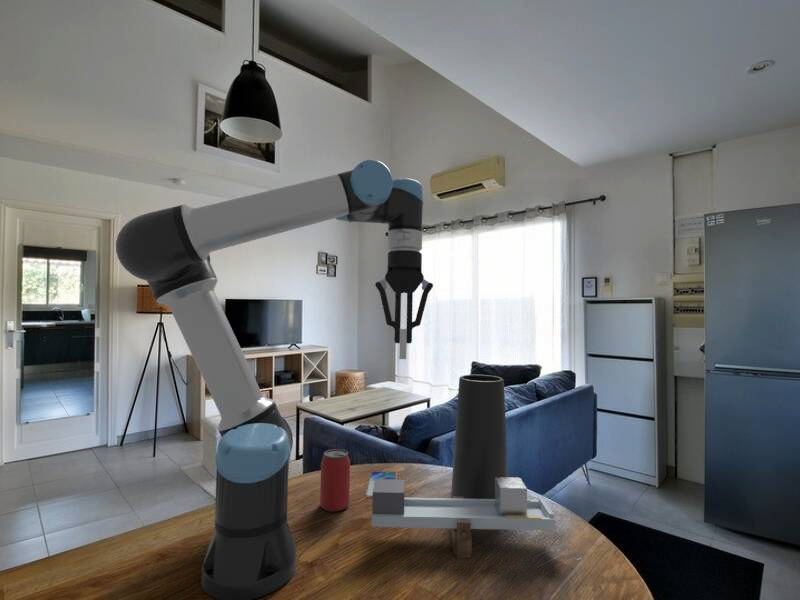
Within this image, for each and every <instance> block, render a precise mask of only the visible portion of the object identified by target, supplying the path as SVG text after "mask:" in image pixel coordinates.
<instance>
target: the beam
mask: <svg viewBox="0 0 800 600" xmlns="http://www.w3.org/2000/svg"><path fill="white" fill-rule="evenodd" d="M405 482H406V481H405V479H396V480H393V479H375V483H374V488H373V498H372V500H371V501H372V510H371V512H372V514H371V527H372V528H409V529H410V528H412V529H415V528H416V529H417V528H418V529H450V528H457V520H470V522H471V530H473V529H474V530H510V531H511V530H514V531H515V530H516V531H517V530H518V531H519V530H520V531H521V530H522V531H556V518H555V514H554V512H553V511H552V510H551V508H550V506H549V505H548V504H547V502H546V501H545V499H544V498H538V499H530V498H527V516H515V515H506V516H499V515H498V513H497V511H496V509H495V499H459V498H450V497H448V498H447V497H446V498H444V497H443V498H442V497H405V494H406V493H405V492H406V491H405V490H406V489H405V488H406V487H405Z"/></svg>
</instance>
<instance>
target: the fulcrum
mask: <svg viewBox="0 0 800 600" xmlns="http://www.w3.org/2000/svg"><path fill="white" fill-rule="evenodd" d="M452 498H459V499H464V497H462V496H452ZM449 534H450V538H451V544H452V549H453V550H452V551H453V555H455V556H456V559H471V556H472V555H473V554H472V553H473V549H472V548H473V532H472V529H471V522H470V520H457V528H449Z"/></svg>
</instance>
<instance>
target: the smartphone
mask: <svg viewBox="0 0 800 600" xmlns="http://www.w3.org/2000/svg"><path fill="white" fill-rule="evenodd" d="M369 473H370V474H369V478H368V483H367V487H366V490H365V495H364V497H365V498H367V499H373V488H374V483H375V479H393V480H397V478H398V477H397V472H396V471H371V472H369Z"/></svg>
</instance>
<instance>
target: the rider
mask: <svg viewBox="0 0 800 600" xmlns="http://www.w3.org/2000/svg"><path fill="white" fill-rule="evenodd" d="M527 499H528V487H527V486H526V484H525V483H524V481H523V480H522V478H521V477H513V476H512V477H509V476H508V477H495V509H496V511H497V513H498V515H499V516H506V515H515V516H527Z"/></svg>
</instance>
